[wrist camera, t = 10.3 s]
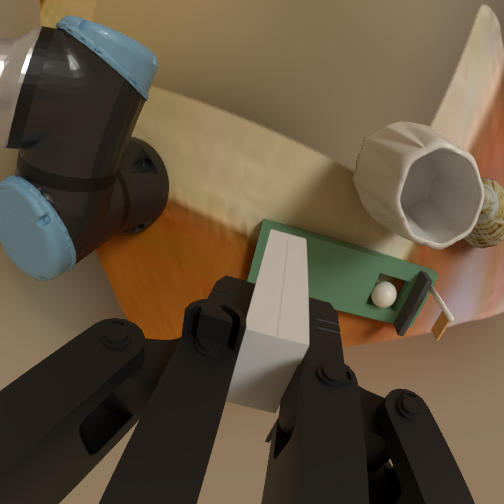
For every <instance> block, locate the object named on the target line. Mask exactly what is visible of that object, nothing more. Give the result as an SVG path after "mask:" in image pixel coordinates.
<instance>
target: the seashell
mask: <svg viewBox="0 0 504 504" xmlns="http://www.w3.org/2000/svg"><path fill="white" fill-rule="evenodd" d="M481 180H482V183H483V186H484V202H483V206H482V209H481V211H480V214H479V217H478V220H477V223H476V225H475V227H474V228H473V230H472V231H471V232H470V233H469V234H468V235H467V236H466V237H465V238H463V239H464V240H465V241H466V242H467V243H469V244H470V245H472V246H474V247H477V248H486V247H492V246H496V245H498V244H499V242H500V241H502V240H503V239H504V188H503V187H502V186H501V185H500V184H498V183H497V182H496V181H494V180H492V179H485V178H481Z"/></svg>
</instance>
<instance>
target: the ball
mask: <svg viewBox="0 0 504 504" xmlns="http://www.w3.org/2000/svg"><path fill="white" fill-rule="evenodd" d="M396 295H397V293H396V289H395V287H394V286H393V285H392V284H391V283H389V282H386V281H382V282H379V283H377V284H376V285H375V286H374V288H373V290H372V292H371V298H372V301H373V303H374V304H375V305H376V306H378V307H381V308H386V307H389V306H391V305H392V304H393V303H394V301H395V299H396Z"/></svg>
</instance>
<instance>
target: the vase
mask: <svg viewBox="0 0 504 504" xmlns="http://www.w3.org/2000/svg"><path fill="white" fill-rule="evenodd" d="M352 181H353V182H354V185H355V187H356V190H357V192H358V195H359V198H360V200H361V203H362V205H363V207H364V208H365V210H366V211H367V212H368V214H369V215H370V217H372V218H373V219H374V220H375V221H377V222H378V223H380V224H381V225H383V226H384V227H386V228H387V229H388V230H390V231H391V232H393V233H395V234H397V235H399V236H401V237H403V238H405V239H408V240H410V241H413V242H415V243H418V244H420V245H426V246H428V247H430V248H432V249H437V250H440V249H444V248H446V247H448V246H450V245H452V244H454V243H455V242H456V241H459V240H461V239H463V238H465V237H466V236H467V235H468V234H469V233H470V232H471V231H472V230H473V228H474V227H475V225H476V223H477V220H478V217H479V214H480V211H481V209H482V206H483V202H484V186H483V183H482V180H481V178H480V174H479V170H478V167H477V164H476V161H475V159H474V158H473V156H472V155H471V154H470V153H469V152H467V151H466V150H464V149H462V148H460V147H459V146H457V145H455V144H454V143H453V142H451V141H450V140H449V139H447V138H446V137H444V136H443V135H441V134H440V133H438V132H437V131H435V130H434V129H432V128H431V127H429V126H426V125H422V124H417V123H411V122H397V123H393V124H390V125H387V126H385V127H384V128H382V129H380V130H379V131H377V132H375V133H373V134H371V135H370V136H368V137H365V138H364V140H363V146H362V148H361V151H360V153H359V155H358V158H357V162H356V168H355V172H354V175H353V176H352Z"/></svg>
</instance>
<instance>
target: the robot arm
mask: <svg viewBox="0 0 504 504" xmlns="http://www.w3.org/2000/svg"><path fill="white" fill-rule="evenodd" d="M56 27H57V29H56V28H49V27H43V26H38V27H36V28H35V29H33V30H32V31H30V32H28V33H27V34H25V35H24V36H22V37H20V38H17V39H12V38H2V37H0V144H1V145H2V147H4V148H16V149H19V153H18V159H17V165H16V171H15V175H14V176H8V177H6V178H5V179H4V180H3V181H2V182H1V183H0V243H1V244H2V246H3V248H4V250H5V252H6V253H7V255H8V256H9V258H10V259H11V260H12V262H13V263H14V264H15V265H16V266H17V267H18V268H19V269H20V270H21V271H22V272H24V273H25V274H27V275H28V276H30V277H32V278H34V279H37V280H42V281H46V280H51V279H54V278H56V277H58V276H59V275H61V274H62V273H64V272H66V271H70V270H71V269H72V268H73V267H74V265H75V264H76V263H78V262H79V261H80V260H82V259H83V258H84V257H86V256H87V255H88V254H90V253H91V252H93V251H94V250H95V249H97V248H98V247H99V246H101V245H102V244H104V243H105V242H106V241H108V240H109V239H111V238H112V237H113V236H120V235H130V234H135V233H138V232H140V231H142V230H144V229H146V228H147V227H148V226H150V225H151V224H152V223H154V222H155V221H156V220H157V219H158V218H159V216H160V215H161V213H162V212H163V210H164V208H165V206H166V203H167V199H168V193H169V181H168V175H167V171H166V168H165V165H164V163H163V161H162V159H161V157H160V156H159V154H158V153H157V152H156V151H155V149H153V148H152V147H151V146H150V145H149V144H148V143H146V142H144V141H143V140H140V139H138V138H135V137H131V135H132V132H133V130H134V127H135V125H136V122H137V120H138V117H139V115H140V112H141V110H142V108H143V105H144V103H145V101H147V100H148V92H149V89H150V87H151V84H152V82H153V79H154V77H155V74H156V72H157V68H158V62H157V58H156V56H155V55H154V53H153V52H152V51H151V50H149V49H148V48H147V47H145V46H144V45H142V44H141V43H139V42H137V41H135V40H134V39H131V38H130V37H128V36H126V35H124V34H122V33H120V32H118V31H115V30H113V29H111V28H108V27H106V26H104V25H101V24H98V23H95V22H90V21H88V20H84V19H82V18H80V17H75V16H65V17H63V18H62V19H61V20H60V21H59V22H58V23H57V24H56ZM338 324H339V321H338V315H337V312H336V310H335V309H334V308H333V306H332V305H331V303H330V302H326V301H322V300H318V299H314V298H311V297H309V296H308V267H307V244H306V239H305V238H301V237H298V236H294V235H291V234H287V233H284V232H280V231H276V230H273V229H271V231H270V234H269V238H268V241H267V245H266V249H265V252H264V256H263V259H262V263H261V267H260V270H259V274H258V277H257V281H256V284H255V283H251V282H248V281H244V280H240V279H237V278H233V277H230V276H225V277H223V278H221V279H220V280H218V281H216V283H215V285H214V287H213V289H212V292H211V293H210V295H209V297H208V299H202V300H198V301H195V302H192V303H191V304H190V305H189V306H187V307H186V308H185V315H184V322H183V330H182V337H180V338H178V339H173V340H156V339H146V338H145V336H144V334H143V332H142V330H141V329H140V328H139V327H138V326H137V325H136V324H134V323H132V322H130V321H127V320H125V319H117V318H112V319H105V320H102V321H100V322H98V323H95V324H94V325H92V326H91V327H90V328H88V329H87V330H85V331H84V332H82V333H81V334H79V335H78V336H77V337H75V338H74V339H72V340H71V341H69V342H68V343H66V344H65V345H64V346H62V347H61V348H60V349H58V350H57V351H55V352H54V353H52V354H51V355H49V356H48V357H47V358H45V359H44V360H42V361H41V362H40V363H38V364H37V365H35V366H34V367H33V368H31V369H30V370H28V371H27V372H26V373H25V374H23V375H22V376H20V377H19V378H18V379H16V380H15V381H13V382H12V383H11V384H9V385H8V386H7V387H5V388H4V389H2V390H1V391H0V504H59V503H60V502H61V501H62V500H63V499H64V498H65V497H66V496H67V495H68V494H69V493H70V492H71V491H72V489H74V488H75V486H77V485H78V484H79V483H80V482H81V481H82V479H84V477H85V476H86V475H87V474H88V473H89V472H90V471H91V470H92V469H93V468H94V467H95V466H96V465H97V464H98V463H99V462H100V461H101V460H102V459H103V458H104V457H105V456H106V454H107V453H108V452H109V451H110V450H111V449H112V448H113V447H114V446H115V445H116V444H117V443H118V442H119V441H120V440H121V439H122V438H123V436H124V435H125V434H126V433H127V432H128V431H129V430H130V429H131V428H132V427H133V426H134V425H135V424H136V422H137V421H138V420H139V419H140V420H139V422H138V424H137V426H136V428H135V430H134V432H133V434H132V436H131V438H130V440H129V442H128V444H127V446H126V448H125V450H124V452H123V454H122V456H121V458H120V460H119V462H118V464H117V467H116V469H115V471H114V473H113V475H112V477H111V479H110V481H109V483H108V485H107V487H106V490H105V492H104V494H103V496H102V498H101V500H100V502H99V504H196V503H197V500H198V497H199V493H200V490H201V486H202V483H203V480H204V476H205V473H206V469H207V465H208V462H209V459H210V455H211V452H212V448H213V445H214V441H215V438H216V434H217V430H218V427H219V423H220V420H221V416H222V412H223V409H224V405H225V402H226V401H228V402H232V403H235V404H239V405H243V406H247V407H251V408H255V409H260V410H264V411H268V412H273V413H276V411H277V409H278V407H279V405H280V411H279V417H278V419H277V421H276V423H275V424H274V426H273V428H272V429H271V431H270V433H269V435H268V436H267V439H266V441H265V442H268V443H269V442H270V440H271V445H270V452H269V459H268V466H267V472H266V479H265V485H264V491H263V497H262V503H261V504H475V503H474V501H473V498H472V496H471V494H470V491H469V489H468V487H467V485H466V483H465V480H464V478H463V476H462V474H461V472H460V469H459V467H458V465H457V463H456V461H455V459H454V457H453V455H452V453H451V451H450V449H449V447H448V445H447V443H446V441H445V439H444V437H443V435H442V433H441V431H440V429H439V427H438V425H437V423H436V421H435V420H434V417H433V416H432V414H431V412H430V410H429V408H428V407H427V405H426V403H425V402H424V401H423V399H422V398H421V397H419V396H418V395H417V394H415V393H414V392H411V391H409V390H407V389H396V390H392V391H391V392H390V393H389V394H388V395H387V396H386V397H385V398H383V397H381V396H378V395H376V394H374V393H371V392H369V391H367V390H365V389H363V388H361V387H360V386H358V382H357V379H356V376H355V374H354V372H353V371H352V370H351V369H350V367H349V366H347V365H346V364H344V357H343V350H342V342H341V335H340V334H339V333H340V328H339V325H338ZM389 459H391V461H392V464H393V466H394V467H393V466H391V464H390V462H389Z"/></svg>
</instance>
